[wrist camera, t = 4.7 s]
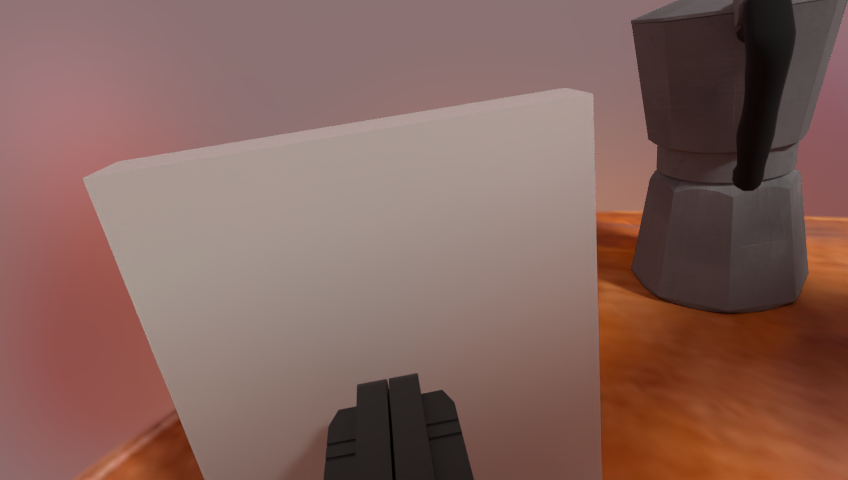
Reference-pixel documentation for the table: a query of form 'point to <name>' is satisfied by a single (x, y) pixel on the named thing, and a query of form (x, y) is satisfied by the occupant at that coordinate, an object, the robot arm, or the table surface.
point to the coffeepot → (729, 147)
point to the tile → (374, 282)
